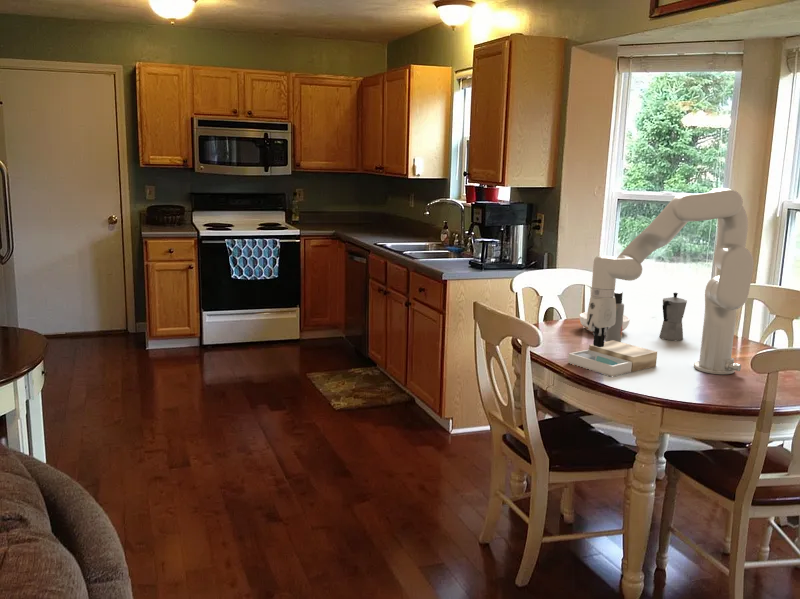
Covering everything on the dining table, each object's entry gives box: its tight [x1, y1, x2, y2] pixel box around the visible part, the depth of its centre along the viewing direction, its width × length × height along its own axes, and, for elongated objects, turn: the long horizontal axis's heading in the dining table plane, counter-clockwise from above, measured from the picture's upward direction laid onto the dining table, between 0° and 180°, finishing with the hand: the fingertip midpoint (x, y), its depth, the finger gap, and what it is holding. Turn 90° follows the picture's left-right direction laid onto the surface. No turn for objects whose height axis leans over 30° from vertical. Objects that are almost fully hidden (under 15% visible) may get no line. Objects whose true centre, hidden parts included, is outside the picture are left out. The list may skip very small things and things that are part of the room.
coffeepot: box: [659, 292, 688, 341], centre depth 285 cm, size 15×9×18 cm, turn 134°
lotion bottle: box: [604, 289, 625, 342], centre depth 275 cm, size 6×6×20 cm
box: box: [567, 349, 632, 378], centre depth 243 cm, size 18×10×4 cm, turn 36°
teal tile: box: [596, 356, 618, 365], centre depth 239 cm, size 5×5×2 cm
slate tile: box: [576, 353, 595, 360], centre depth 246 cm, size 5×5×2 cm
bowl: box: [579, 311, 631, 333], centre depth 295 cm, size 20×20×6 cm
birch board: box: [588, 340, 658, 373], centre depth 250 cm, size 18×13×5 cm
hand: (598, 346), depth 249 cm, fingers closed
